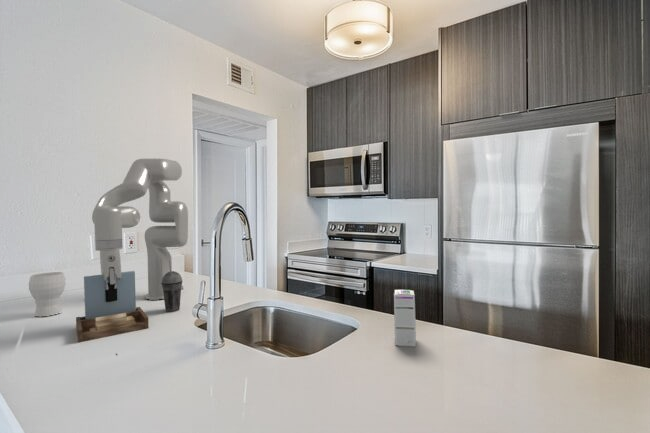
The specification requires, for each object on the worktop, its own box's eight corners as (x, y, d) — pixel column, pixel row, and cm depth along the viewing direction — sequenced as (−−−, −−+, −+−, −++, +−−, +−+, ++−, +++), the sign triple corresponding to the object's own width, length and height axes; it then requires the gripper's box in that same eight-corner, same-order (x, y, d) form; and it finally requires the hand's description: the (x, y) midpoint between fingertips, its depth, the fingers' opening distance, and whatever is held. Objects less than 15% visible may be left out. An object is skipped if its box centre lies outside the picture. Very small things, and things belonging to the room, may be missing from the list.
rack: (139, 319, 118) (139, 306, 118) (148, 331, 107) (148, 317, 107) (76, 331, 107) (76, 317, 107) (78, 346, 95) (77, 330, 95)
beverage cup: (186, 310, 129) (185, 258, 128) (176, 316, 122) (175, 261, 121) (168, 309, 130) (167, 258, 129) (157, 315, 122) (156, 261, 122)
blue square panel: (135, 310, 116) (133, 270, 116) (136, 312, 115) (134, 271, 114) (85, 319, 107) (83, 276, 107) (85, 321, 106) (84, 277, 105)
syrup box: (416, 347, 92) (415, 294, 92) (394, 345, 93) (393, 293, 93) (415, 339, 98) (414, 289, 97) (394, 337, 99) (393, 288, 99)
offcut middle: (131, 320, 110) (131, 315, 110) (134, 323, 106) (134, 319, 106) (94, 327, 103) (94, 322, 103) (97, 331, 100) (97, 326, 100)
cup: (50, 318, 120) (49, 277, 120) (21, 319, 121) (20, 277, 120) (73, 310, 131) (72, 271, 131) (46, 310, 131) (45, 271, 131)
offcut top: (125, 317, 108) (125, 312, 108) (126, 320, 105) (126, 316, 105) (95, 322, 104) (95, 317, 104) (95, 326, 100) (95, 321, 100)
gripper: (125, 246, 106) (127, 303, 107) (119, 241, 119) (120, 293, 119) (97, 248, 102) (99, 308, 102) (93, 243, 114) (95, 297, 115)
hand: (111, 300), depth 111 cm, fingers closed on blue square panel, 2 cm apart
